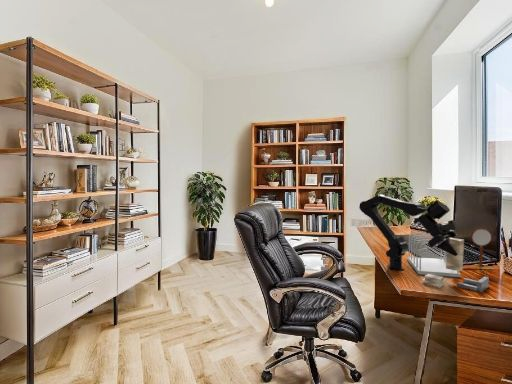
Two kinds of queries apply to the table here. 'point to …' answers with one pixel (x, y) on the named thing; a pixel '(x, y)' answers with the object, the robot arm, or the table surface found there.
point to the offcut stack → (434, 280)
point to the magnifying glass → (481, 241)
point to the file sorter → (429, 260)
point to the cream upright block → (452, 260)
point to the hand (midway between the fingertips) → (458, 254)
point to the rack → (480, 287)
